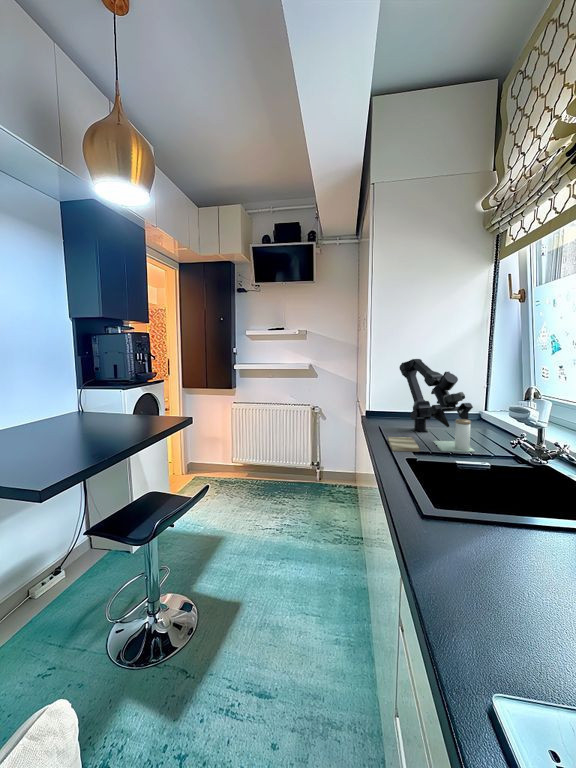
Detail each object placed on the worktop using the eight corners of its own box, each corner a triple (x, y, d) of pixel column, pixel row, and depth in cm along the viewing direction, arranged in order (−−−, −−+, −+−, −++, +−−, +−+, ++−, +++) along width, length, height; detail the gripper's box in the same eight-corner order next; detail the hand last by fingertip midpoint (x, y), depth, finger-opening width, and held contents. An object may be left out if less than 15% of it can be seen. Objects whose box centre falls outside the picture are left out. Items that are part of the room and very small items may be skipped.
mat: (433, 442, 148) (433, 440, 148) (463, 442, 146) (464, 441, 146) (441, 451, 136) (441, 449, 135) (475, 452, 133) (475, 450, 133)
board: (387, 440, 153) (387, 436, 153) (412, 440, 151) (412, 437, 151) (392, 450, 138) (392, 447, 137) (419, 451, 136) (419, 448, 135)
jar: (451, 447, 138) (452, 420, 136) (458, 445, 141) (459, 418, 139) (465, 451, 133) (466, 422, 131) (472, 448, 136) (473, 420, 135)
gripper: (432, 386, 140) (447, 417, 131) (471, 384, 143) (488, 414, 133) (421, 401, 149) (435, 431, 139) (458, 399, 152) (474, 428, 142)
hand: (458, 426), depth 138 cm, fingers open, 9 cm apart
